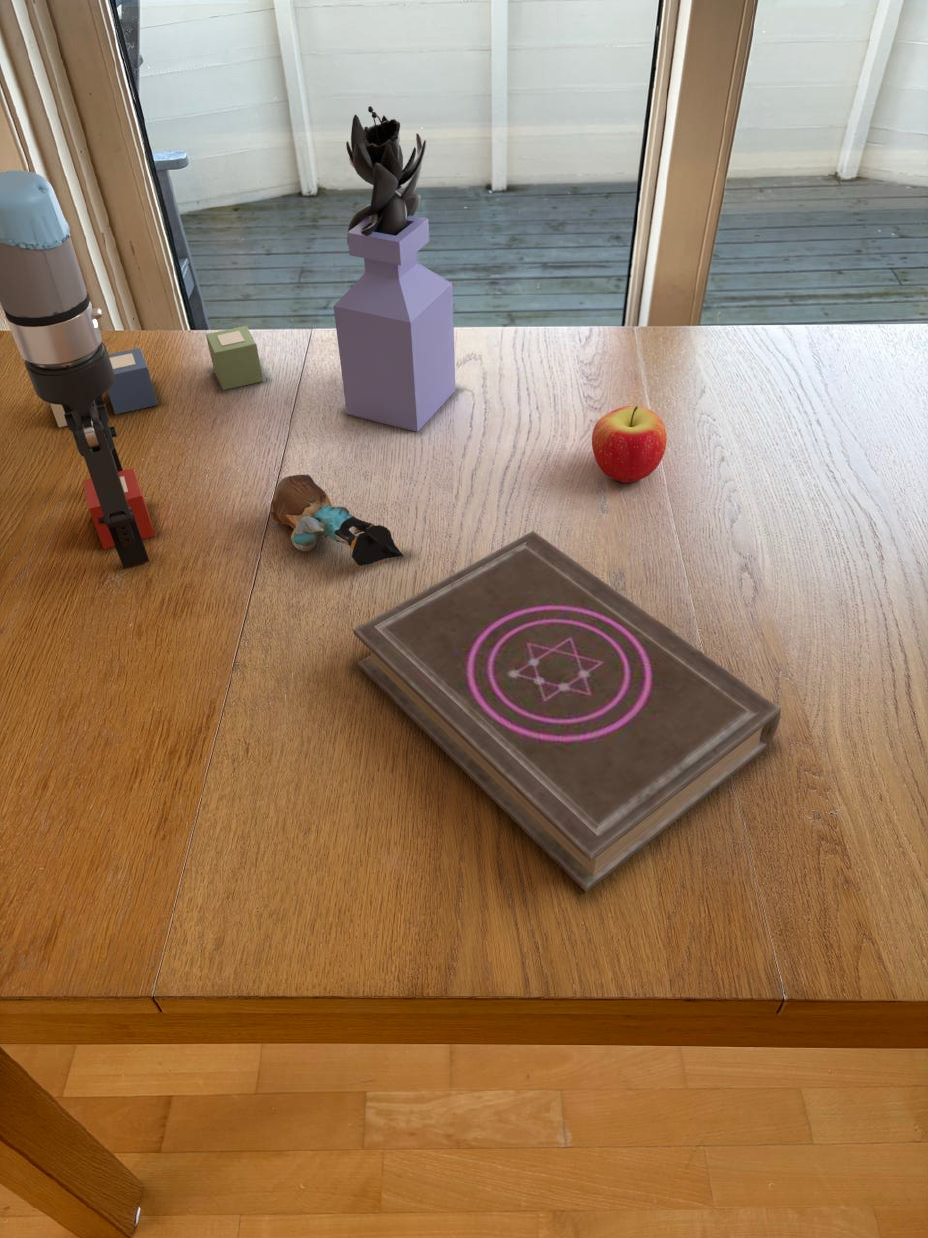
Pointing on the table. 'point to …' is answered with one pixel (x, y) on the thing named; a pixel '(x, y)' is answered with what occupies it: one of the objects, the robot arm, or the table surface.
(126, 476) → the red block
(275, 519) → the figurine
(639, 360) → the table surface
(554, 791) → the book
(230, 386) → the sage block
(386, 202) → the vase
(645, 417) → the apple
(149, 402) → the blue block
